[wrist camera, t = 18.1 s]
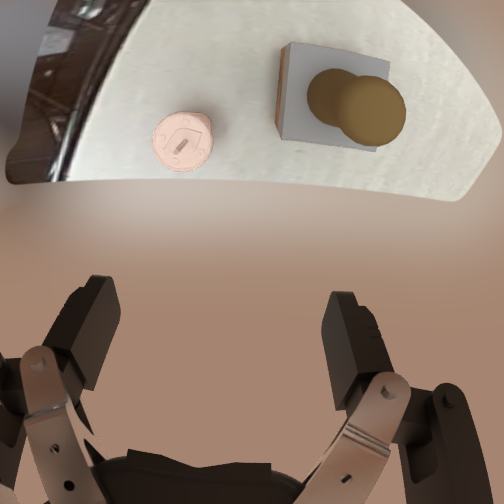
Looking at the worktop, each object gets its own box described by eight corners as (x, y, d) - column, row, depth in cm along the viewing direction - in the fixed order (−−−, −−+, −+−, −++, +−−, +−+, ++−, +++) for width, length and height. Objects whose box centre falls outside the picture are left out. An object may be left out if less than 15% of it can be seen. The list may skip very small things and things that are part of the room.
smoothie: (229, 136, 38) (218, 170, 27) (186, 157, 40) (158, 198, 28) (208, 94, 35) (185, 107, 24) (164, 116, 37) (125, 141, 25)
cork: (349, 58, 24) (397, 57, 15) (375, 111, 27) (429, 137, 18) (295, 84, 26) (318, 92, 17) (324, 136, 29) (358, 172, 20)
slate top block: (285, 45, 28) (291, 42, 24) (372, 61, 28) (390, 61, 24) (277, 130, 33) (281, 139, 29) (360, 140, 34) (375, 152, 29)
